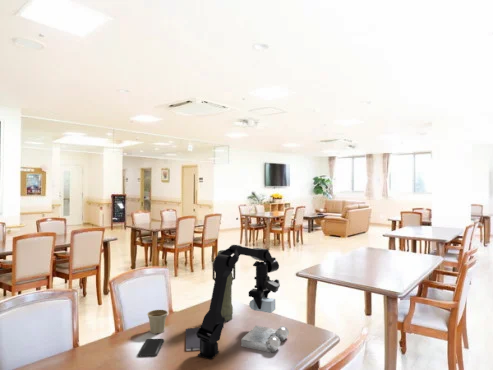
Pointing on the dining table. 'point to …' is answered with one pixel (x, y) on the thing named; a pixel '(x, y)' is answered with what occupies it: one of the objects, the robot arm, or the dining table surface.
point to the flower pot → (157, 320)
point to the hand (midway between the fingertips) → (262, 307)
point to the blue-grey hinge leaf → (264, 305)
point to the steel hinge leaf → (264, 338)
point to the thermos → (226, 294)
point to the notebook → (192, 339)
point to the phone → (151, 348)
